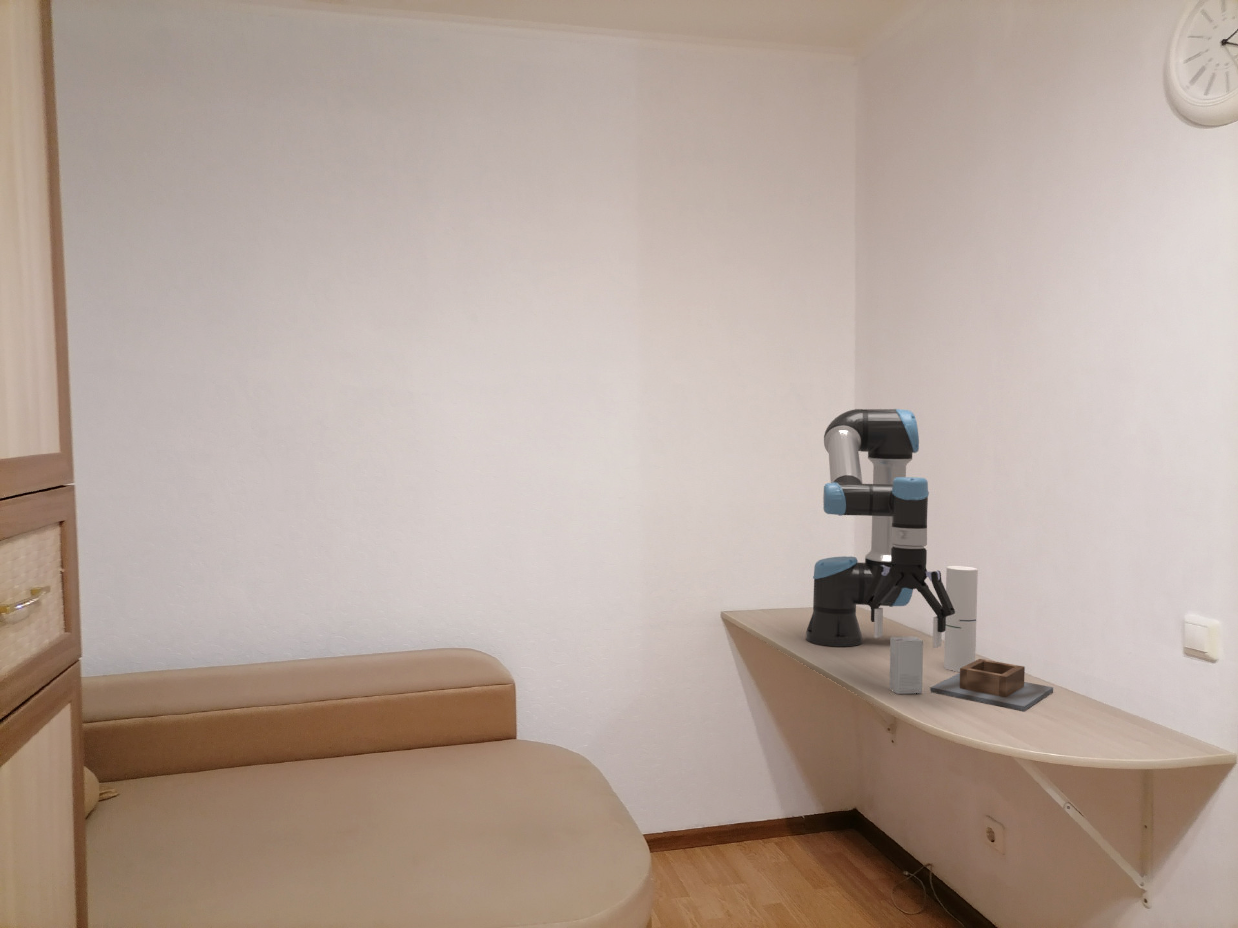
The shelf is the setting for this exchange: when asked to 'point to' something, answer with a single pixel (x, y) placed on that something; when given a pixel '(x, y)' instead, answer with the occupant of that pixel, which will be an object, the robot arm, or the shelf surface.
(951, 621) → the cylindrical container
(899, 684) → the skincare box
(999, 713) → the shelf surface
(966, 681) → the socket
